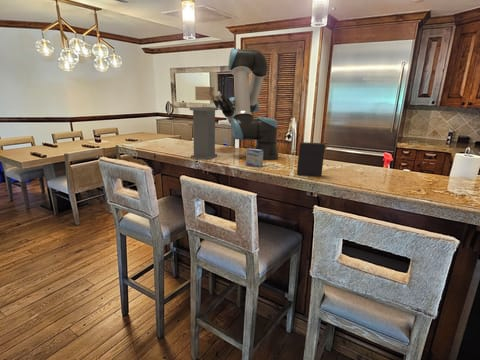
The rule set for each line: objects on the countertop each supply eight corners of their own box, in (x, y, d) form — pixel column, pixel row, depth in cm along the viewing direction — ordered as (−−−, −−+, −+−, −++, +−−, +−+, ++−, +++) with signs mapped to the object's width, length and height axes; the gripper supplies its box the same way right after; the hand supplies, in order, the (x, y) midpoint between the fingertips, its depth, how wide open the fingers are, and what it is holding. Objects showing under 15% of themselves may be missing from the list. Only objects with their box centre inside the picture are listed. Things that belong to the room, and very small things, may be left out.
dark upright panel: (320, 174, 135) (323, 142, 131) (321, 176, 131) (325, 144, 127) (296, 173, 136) (299, 141, 132) (297, 175, 132) (300, 143, 128)
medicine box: (245, 165, 148) (246, 149, 146) (249, 163, 152) (250, 147, 150) (259, 167, 145) (260, 150, 143) (262, 165, 149) (263, 149, 146)
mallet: (216, 100, 181) (217, 88, 179) (228, 100, 178) (228, 88, 176) (195, 99, 156) (195, 86, 154) (208, 100, 154) (208, 86, 152)
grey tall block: (202, 153, 175) (202, 106, 168) (218, 155, 171) (219, 107, 164) (189, 158, 161) (188, 107, 153) (206, 160, 157) (206, 108, 149)
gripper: (238, 117, 187) (226, 99, 166) (217, 116, 193) (202, 98, 171) (241, 107, 189) (229, 87, 167) (219, 106, 194) (205, 87, 173)
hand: (215, 93), depth 169 cm, fingers closed on mallet, 2 cm apart
